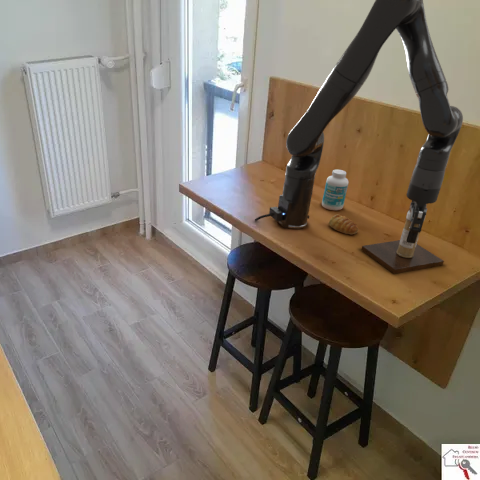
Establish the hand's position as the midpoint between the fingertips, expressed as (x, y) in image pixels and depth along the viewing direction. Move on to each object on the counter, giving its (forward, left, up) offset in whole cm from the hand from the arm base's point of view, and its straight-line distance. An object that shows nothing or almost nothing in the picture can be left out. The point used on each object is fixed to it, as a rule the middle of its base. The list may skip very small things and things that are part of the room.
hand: (409, 235), depth 135 cm
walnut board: (0, +1, -8) cm, 8 cm away
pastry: (-5, +22, -8) cm, 24 cm away
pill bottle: (+2, +38, -8) cm, 39 cm away
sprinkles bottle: (0, 0, -6) cm, 6 cm away
